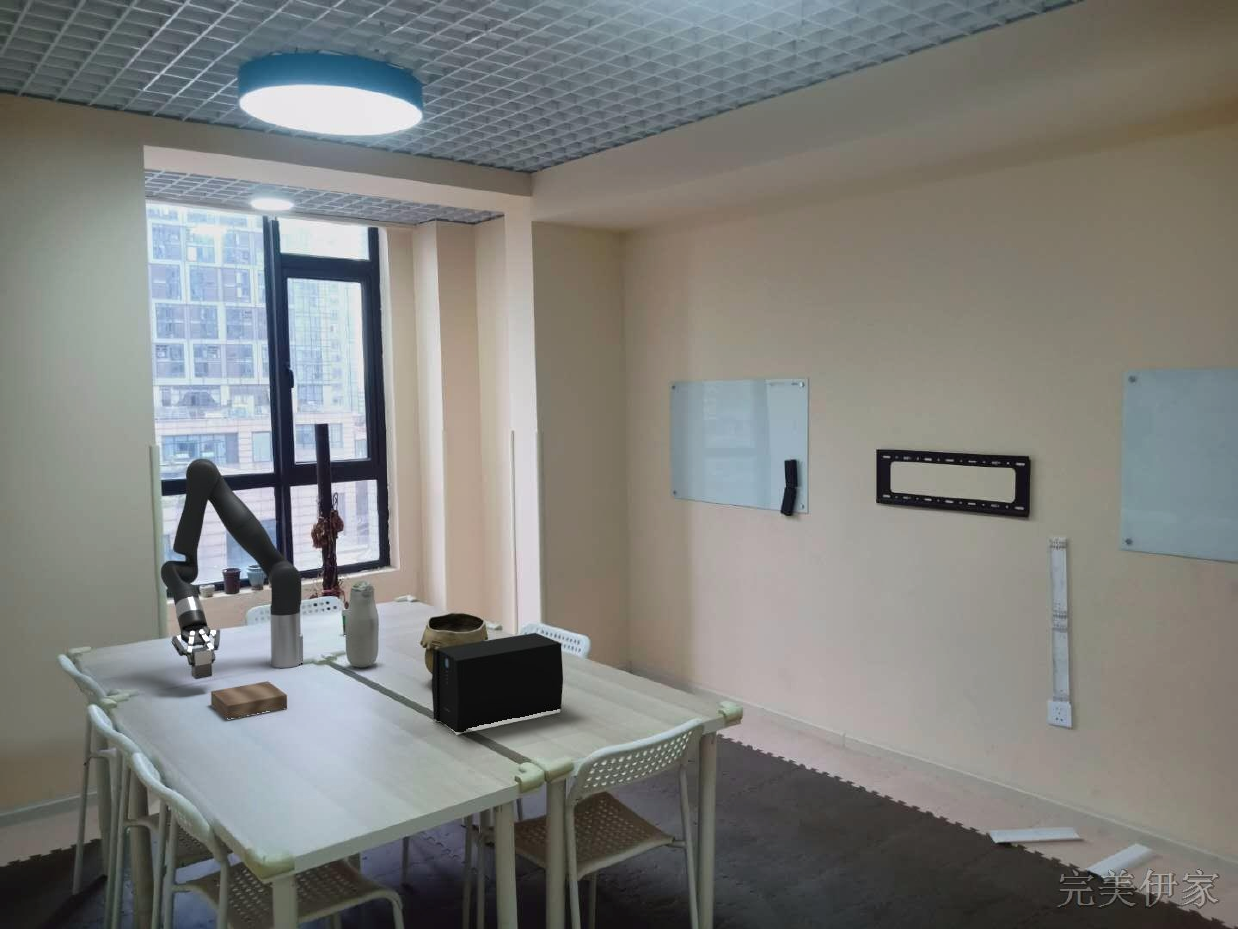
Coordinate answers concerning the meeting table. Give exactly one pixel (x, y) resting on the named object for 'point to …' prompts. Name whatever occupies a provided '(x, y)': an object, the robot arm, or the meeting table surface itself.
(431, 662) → the clay pot
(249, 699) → the walnut stand
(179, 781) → the meeting table surface
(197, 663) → the block
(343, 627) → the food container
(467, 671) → the uninterruptible power supply
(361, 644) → the grey bottle
